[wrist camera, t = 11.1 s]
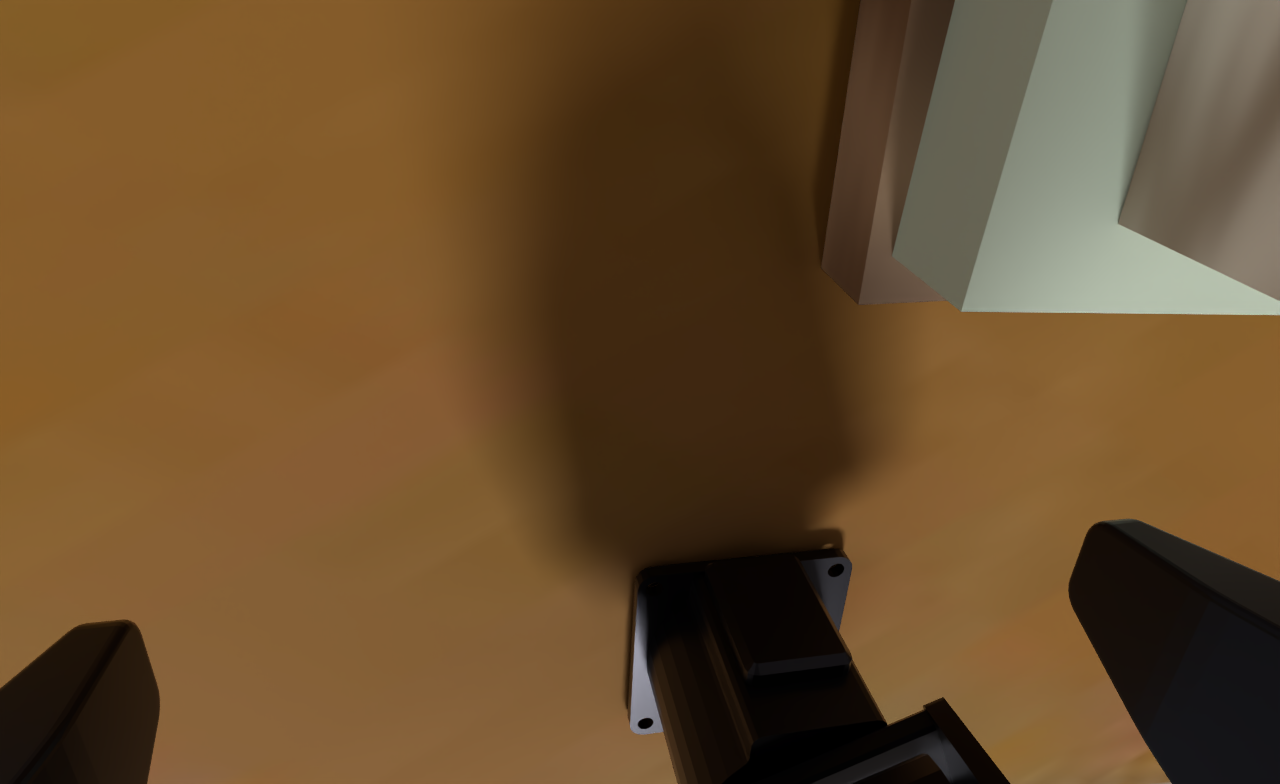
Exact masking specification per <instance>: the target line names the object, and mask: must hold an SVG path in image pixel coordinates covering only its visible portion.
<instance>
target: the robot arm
mask: <svg viewBox="0 0 1280 784" xmlns="http://www.w3.org/2000/svg"><path fill="white" fill-rule="evenodd" d="M834 564H837V565H836V566H835V567H832V568H830V567H831V566H832V565H834ZM851 571H852V563H851V562H850V560H849V559H848V557H847V555H846V554H845V552H844V551H842V550H841V549H834V548H833V549H823V550H813V551H803V552H794V553H784V554H774V555H764V556H754V557H744V558H734V559H724V560H714V561H704V562H694V563H684V564H674V565H664V566H654V567H649V568H646V569H644V570H642V571H641V572H640V573H639V574H638V575H637V576H636V579H635V586H634V605H633V624H632V642H631V661H630V680H629V699H628V719H629V723H630V728H631V730H632V731H633V732H634V733H637V734H651V733H658V732H664V735H665V739H666V743H667V746H668V750H669V754H670V757H671V761H672V765H673V768H674V772H675V776H676V779H677V783H678V784H1010V783H1009V781H1008V780H1007V779H1006V777H1005V776H1004V775H1003V774H1002V772H1001V771H1000V770H999V768H998V767H997V766H996V765H995V763H994V762H993V761H992V759H991V758H990V757H989V756H988V754H987V753H986V752H985V750H984V749H983V748H982V746H981V745H980V744H979V743H978V741H977V740H976V739H975V737H974V736H973V735H972V734H971V732H970V731H969V730H968V728H967V727H966V726H965V725H964V723H963V722H962V721H961V719H960V718H959V717H958V715H957V714H956V713H955V712H954V710H953V709H952V708H951V706H950V705H949V704H948V703H947V701H946V700H945V699H944V698H943V697H942V698H940V699H938V700H935V701H933V702H931V703H928V704H926V705H924V706H923V709H924V710H922V711H919V712H917V713H915V714H912V715H910V716H908V717H905V718H903V719H901V720H898V721H896V722H894V723H891V724H889V725H887V722H886V721H885V719H884V717H883V715H882V713H881V711H880V710H879V708H878V706H877V704H876V702H875V700H874V699H873V697H872V695H871V693H870V691H869V689H868V688H867V686H866V684H865V682H864V680H863V678H862V677H861V675H860V673H859V671H858V669H857V667H856V666H855V664H854V662H853V660H852V656H851V653H850V651H849V649H848V647H847V646H846V644H845V642H844V640H843V638H842V637H841V635H840V633H839V629H840V624H841V619H842V614H843V609H844V605H845V600H846V595H847V590H848V585H849V581H850V576H851ZM655 582H656V583H658V584H657V585H656V586H653V587H648V586H649V585H650V584H652V583H655ZM1068 592H1069V598H1070V602H1071V605H1072V607H1073V610H1074V611H1075V613H1076V615H1077V617H1078V619H1079V621H1080V623H1081V625H1082V626H1083V628H1084V630H1085V632H1086V634H1087V636H1088V638H1089V640H1090V641H1091V643H1092V645H1093V647H1094V649H1095V651H1096V653H1097V654H1098V656H1099V658H1100V660H1101V662H1102V664H1103V666H1104V668H1105V669H1106V671H1107V673H1108V675H1109V677H1110V679H1111V681H1112V683H1113V684H1114V686H1115V688H1116V690H1117V692H1118V694H1119V696H1120V697H1121V699H1122V701H1123V703H1124V705H1125V707H1126V709H1127V711H1128V712H1129V714H1130V716H1131V718H1132V720H1133V722H1134V723H1135V725H1136V727H1137V729H1138V730H1139V732H1140V734H1141V736H1142V738H1143V739H1144V741H1145V743H1146V744H1147V746H1148V747H1149V749H1150V751H1151V752H1152V754H1153V755H1154V757H1155V758H1156V760H1157V762H1158V763H1159V765H1160V766H1161V768H1162V769H1163V771H1164V772H1165V774H1166V775H1167V777H1168V778H1169V780H1170V782H1171V783H1172V784H1280V581H1278V580H1276V579H1273V578H1271V577H1269V576H1267V575H1264V574H1262V573H1260V572H1257V571H1255V570H1253V569H1250V568H1248V567H1246V566H1243V565H1241V564H1239V563H1236V562H1234V561H1232V560H1230V559H1227V558H1225V557H1223V556H1220V555H1218V554H1216V553H1213V552H1211V551H1209V550H1206V549H1204V548H1202V547H1200V546H1197V545H1195V544H1193V543H1190V542H1188V541H1186V540H1183V539H1181V538H1179V537H1176V536H1174V535H1172V534H1169V533H1167V532H1165V531H1163V530H1160V529H1158V528H1156V527H1153V526H1151V525H1149V524H1146V523H1144V522H1142V521H1139V520H1135V519H1119V520H1109V521H1101V522H1098V523H1095V524H1094V525H1093V526H1092V527H1091V528H1090V529H1089V530H1088V532H1087V534H1086V537H1085V539H1084V542H1083V545H1082V547H1081V550H1080V553H1079V556H1078V558H1077V561H1076V564H1075V567H1074V569H1073V572H1072V575H1071V578H1070V581H1069V588H1068ZM159 712H160V697H159V690H158V686H157V682H156V679H155V676H154V673H153V670H152V667H151V663H150V660H149V657H148V654H147V651H146V647H145V644H144V641H143V638H142V635H141V632H140V630H139V628H138V627H137V625H136V624H135V623H134V622H132V621H129V620H115V621H105V622H95V623H86V624H82V625H79V626H77V627H75V628H73V629H72V630H70V631H69V632H67V633H66V634H65V635H64V636H63V637H61V638H60V639H59V640H58V641H57V642H55V643H54V644H53V645H52V646H51V647H49V648H48V649H47V650H46V651H45V652H43V653H42V654H41V655H40V656H39V657H37V658H36V659H35V660H34V661H33V662H31V663H30V664H29V665H28V666H27V667H25V668H24V669H23V670H22V671H21V672H19V673H18V674H17V675H16V676H15V677H13V678H12V679H11V680H10V681H9V682H7V683H6V684H5V685H4V686H3V687H1V688H0V784H147V781H148V776H149V770H150V765H151V759H152V754H153V748H154V743H155V737H156V731H157V726H158V720H159ZM643 718H644V719H643Z"/></svg>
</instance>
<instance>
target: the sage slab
mask: <svg viewBox="0 0 1280 784" xmlns="http://www.w3.org/2000/svg"><path fill="white" fill-rule="evenodd" d="M1186 3H1187V0H955V3H954V7H953V11H952V15H951V19H950V23H949V27H948V31H947V35H946V39H945V43H944V47H943V51H942V55H941V59H940V63H939V67H938V71H937V75H936V80H935V84H934V88H933V92H932V96H931V100H930V104H929V108H928V112H927V116H926V120H925V124H924V128H923V132H922V136H921V140H920V144H919V148H918V152H917V156H916V160H915V165H914V169H913V173H912V177H911V181H910V185H909V189H908V193H907V197H906V201H905V205H904V209H903V213H902V217H901V221H900V225H899V229H898V233H897V238H896V242H895V246H894V250H893V254H892V257H894V258H895V259H896V260H897V261H899V262H900V263H901V264H902V265H904V266H905V267H906V268H907V269H909V270H910V271H911V272H912V273H914V274H915V275H916V276H917V277H919V278H920V279H921V280H922V281H924V282H925V283H926V284H927V285H929V286H930V287H931V288H932V289H934V290H935V291H936V292H937V293H939V294H940V295H941V296H942V297H944V298H945V299H946V300H947V301H949V302H950V303H951V304H952V305H954V306H955V307H956V308H957V309H959V310H960V311H961V312H1049V313H1141V314H1233V315H1280V301H1278V300H1276V299H1274V298H1272V297H1270V296H1268V295H1266V294H1263V293H1261V292H1259V291H1257V290H1255V289H1253V288H1251V287H1249V286H1247V285H1245V284H1243V283H1240V282H1238V281H1236V280H1234V279H1232V278H1230V277H1228V276H1226V275H1224V274H1222V273H1220V272H1217V271H1215V270H1213V269H1211V268H1209V267H1207V266H1205V265H1203V264H1201V263H1199V262H1197V261H1194V260H1192V259H1190V258H1188V257H1186V256H1184V255H1182V254H1180V253H1178V252H1176V251H1174V250H1171V249H1169V248H1167V247H1165V246H1163V245H1161V244H1159V243H1157V242H1155V241H1153V240H1150V239H1148V238H1146V237H1144V236H1142V235H1140V234H1138V233H1136V232H1134V231H1132V230H1130V229H1127V228H1125V227H1123V226H1121V225H1119V224H1118V222H1119V219H1120V216H1121V212H1122V209H1123V206H1124V203H1125V199H1126V196H1127V193H1128V190H1129V186H1130V183H1131V180H1132V177H1133V174H1134V170H1135V167H1136V164H1137V161H1138V157H1139V154H1140V151H1141V148H1142V145H1143V141H1144V138H1145V135H1146V132H1147V128H1148V125H1149V122H1150V119H1151V115H1152V112H1153V109H1154V106H1155V103H1156V99H1157V96H1158V93H1159V90H1160V86H1161V83H1162V80H1163V77H1164V74H1165V70H1166V67H1167V64H1168V61H1169V57H1170V54H1171V51H1172V48H1173V44H1174V41H1175V38H1176V35H1177V32H1178V28H1179V25H1180V22H1181V19H1182V15H1183V12H1184V9H1185V6H1186Z"/></svg>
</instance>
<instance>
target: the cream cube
mask: <svg viewBox="0 0 1280 784" xmlns="http://www.w3.org/2000/svg"><path fill="white" fill-rule="evenodd" d="M1118 224H1119V225H1121V226H1123V227H1125V228H1127V229H1130V230H1132V231H1134V232H1136V233H1138V234H1140V235H1142V236H1144V237H1146V238H1148V239H1150V240H1153V241H1155V242H1157V243H1159V244H1161V245H1163V246H1165V247H1167V248H1169V249H1171V250H1174V251H1176V252H1178V253H1180V254H1182V255H1184V256H1186V257H1188V258H1190V259H1192V260H1194V261H1197V262H1199V263H1201V264H1203V265H1205V266H1207V267H1209V268H1211V269H1213V270H1215V271H1217V272H1220V273H1222V274H1224V275H1226V276H1228V277H1230V278H1232V279H1234V280H1236V281H1238V282H1240V283H1243V284H1245V285H1247V286H1249V287H1251V288H1253V289H1255V290H1257V291H1259V292H1261V293H1263V294H1266V295H1268V296H1270V297H1272V298H1274V299H1276V300H1278V301H1280V0H1187V3H1186V6H1185V9H1184V12H1183V15H1182V19H1181V22H1180V25H1179V28H1178V32H1177V35H1176V38H1175V41H1174V44H1173V48H1172V51H1171V54H1170V57H1169V61H1168V64H1167V67H1166V70H1165V74H1164V77H1163V80H1162V83H1161V86H1160V90H1159V93H1158V96H1157V99H1156V103H1155V106H1154V109H1153V112H1152V115H1151V119H1150V122H1149V125H1148V128H1147V132H1146V135H1145V138H1144V141H1143V145H1142V148H1141V151H1140V154H1139V157H1138V161H1137V164H1136V167H1135V170H1134V174H1133V177H1132V180H1131V183H1130V186H1129V190H1128V193H1127V196H1126V199H1125V203H1124V206H1123V209H1122V212H1121V216H1120V219H1119V222H1118Z"/></svg>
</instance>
